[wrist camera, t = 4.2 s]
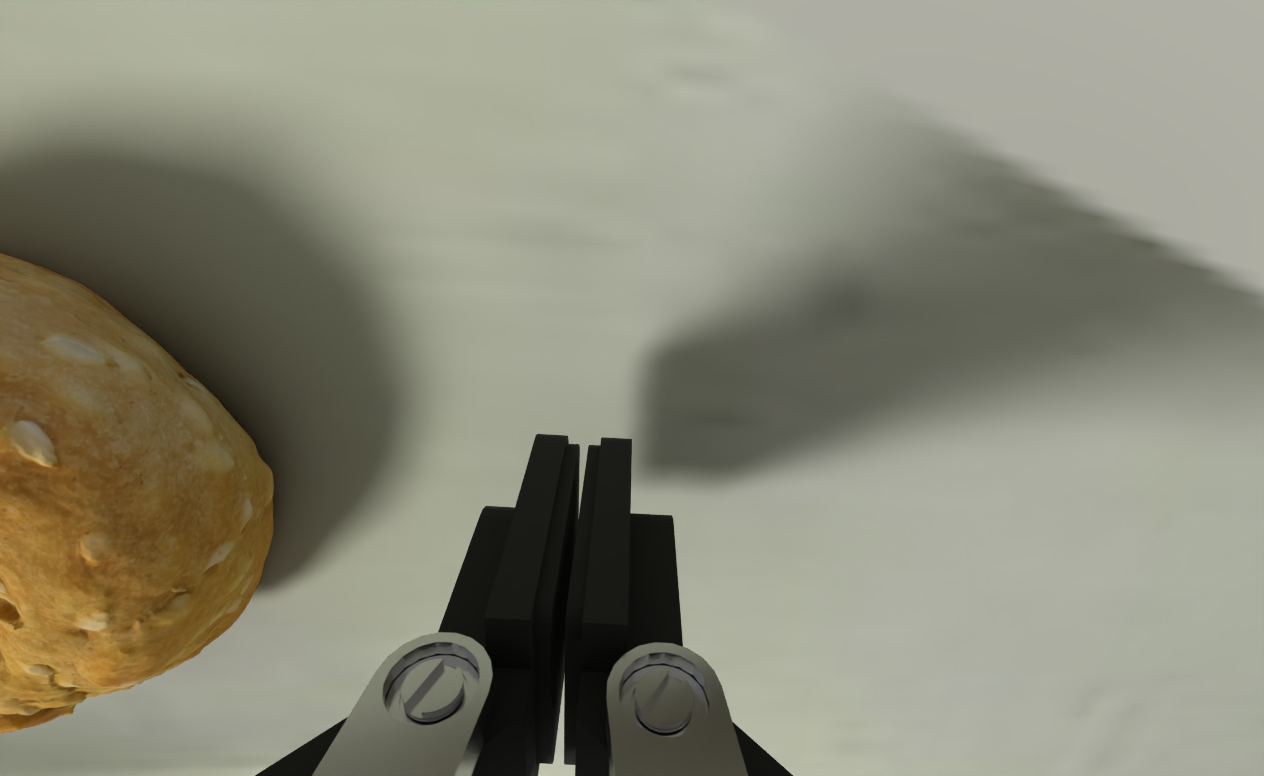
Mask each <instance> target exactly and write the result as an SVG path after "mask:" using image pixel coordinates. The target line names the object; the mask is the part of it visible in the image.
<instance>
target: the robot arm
mask: <svg viewBox="0 0 1264 776" xmlns="http://www.w3.org/2000/svg"><path fill="white" fill-rule="evenodd" d="M631 457H632V439H620V438H601V446H598V445H589V447H588V454H587V461H586V469H585V476H584V483H583V491H582V498H581V506H580V513H579V458H580V447H579V444H569V443H568V436H564V435H545V434H537V435H536V437H535V440H534V444H533V447H532V451H531V454H530V458H529V461H528V465H527V468H526V472H525V475H524V479H523V482H522V486H521V489H520V493H519V496H518V500H517V503H516V507H515V508H513V507H493V506H486V507H485V508H483V510H482V512H481V515H480V517H479V520H478V523H477V526H476V528H475V531H474V534H473V537H472V539H471V542H470V545H469V548H468V551H467V553H466V556H465V559H464V562H463V565H462V567H461V570H460V573H459V576H458V578H457V581H456V584H455V587H454V590H453V592H452V595H451V598H450V601H449V603H448V606H447V609H446V612H445V615H444V617H443V620H442V623H441V626H440V629H439V631H438V633H434V634H429V635H424V636H420V637H418V638H416V639H414V640H412V641H410V642H407V643H405V644H403V645H402V646H401V647H400V648H398V649H397V650H396V651H394V652H393V653H392V654H390V655H389V656H388V657H387V658H386V660H385V661H384V662H383V663H382V665H381V666H380V667H379V668H378V670H377V671H376V672H375V674H374V676H373V677H372V679H371V681H370V682H369V684H368V685H367V687H366V689H365V690H364V692H363V694H362V695H361V697H360V698H359V700H358V702H357V703H356V705H355V707H354V708H353V710H352V711H351V713H350V715H349V716H348V717H347V718H345V719H344V720H342V721H341V722H339V723H338V724H336V725H334V726H333V727H331V728H330V729H328V730H326V731H325V732H323V733H322V734H320V735H319V736H317V737H315V738H314V739H312V740H311V741H309V742H307V743H306V744H304V745H303V746H301V747H300V748H298V749H296V750H295V751H293V752H292V753H290V754H288V755H287V756H285V757H284V758H282V759H281V760H279V761H277V762H276V763H274V764H273V765H271V766H270V767H268V768H266V769H265V770H263V771H262V772H260V773H258V774H257V775H255V776H538V770H539V763H547V764H553V760H554V753H555V746H556V738H557V730H558V722H559V714H560V705H561V697H562V689H563V681H564V673H565V710H564V764H569V765H576V767H575V776H793V775H792V774H791V773H789V772H788V771H787V770H786V769H785V768H784V767H783V766H782V765H780V764H779V763H778V762H777V761H776V760H775V759H774V758H773V757H771V756H770V755H769V754H768V753H767V752H766V751H765V750H764V749H762V748H761V747H760V746H759V745H758V744H757V743H756V742H755V741H753V740H752V739H751V738H750V737H749V736H748V735H747V734H746V733H744V732H743V731H742V730H741V729H740V728H739V727H738V726H737V725H735V724H734V723H733V722H732V719H731V716H730V712H729V709H728V706H727V702H726V699H725V695H724V692H723V689H722V686H721V684H720V682H719V679H718V677H717V675H716V673H715V671H714V670H713V669H712V668H711V667H710V665H709V664H708V663H707V662H706V661H705V660H704V659H703V658H702V657H701V656H699V655H697V654H696V653H694V652H693V651H691V650H690V649H688V648H685V647H683V642H682V629H681V615H680V602H679V589H678V576H677V563H676V549H675V536H674V524H673V517H672V516H670V515H650V514H630V505H631ZM578 515H579V520H578Z"/></svg>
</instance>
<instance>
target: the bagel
mask: <svg viewBox="0 0 1264 776" xmlns="http://www.w3.org/2000/svg"><path fill="white" fill-rule="evenodd" d="M273 491H274V483H273V474H272V471H271V469H270V467H268V466H267V464H266V463H265V462H263V460H262V459H261V458H260V456H259V454H258V452H257V449H256V446H255V444H254V441H253V440H252V439H251V438H250V437H249V435H248V434H247V433H246V432H245V431H244V429H243V428H242V427H241V426H240V425H239V424H238V423H237V421H236V420H235V419H233V417H232V416H231V415H230V413H229V412H228V411H227V410H226V409H225V408H224V407H223V405H222V404H221V403H220V401H219V400H218V399H217V398H216V397H215V396H214V395H213V394H212V393H211V392H209V391H208V390H207V389H206V388H205V386H203V384H202V383H201V382H199V381H198V380H197V379H196V378H194V377H193V376H191V375H190V374H188V373H187V372H186V371H185V369H184V368H183V367H182V366H181V365H180V364H179V363H178V362H177V361H176V360H175V359H174V358H173V357H172V356H171V355H170V354H169V353H167V352H166V351H165V350H164V349H163V348H162V347H161V346H160V345H159V344H158V343H157V342H155V341H154V340H153V339H152V338H151V337H149V336H148V335H147V334H146V333H144V332H143V331H142V330H141V329H140V328H139V327H137V326H136V325H135V324H133V323H132V322H131V321H130V320H128V319H127V318H126V317H125V316H124V315H122V314H121V313H120V312H119V311H118V310H117V309H116V308H115V307H113V306H112V305H111V304H110V303H109V302H107V301H106V300H104V299H103V298H102V297H100V296H99V295H98V294H96V293H95V292H93V291H92V290H90V289H89V288H87V287H85V286H84V285H82V284H81V283H79V282H77V281H75V280H73V279H71V278H68V277H66V276H64V275H61V274H59V273H56V272H54V271H51V270H49V269H47V268H44V267H42V266H38V265H35V264H32V263H29V262H27V261H24V260H22V259H19V258H15V257H12V256H8V255H5V254H2V253H0V733H5V732H12V731H16V730H20V729H22V728H28V727H33V726H37V725H40V724H43V723H46V722H48V721H50V720H53V719H55V718H57V717H59V716H61V715H71V714H73V712H74V707H75V706H76V704H77V703H81V702H83V700H84V699H86V697H95V696H98V695H100V694H109V693H112V692H115V691H120V690H126V689H129V688H131V687H133V686H135V685H136V684H140V683H142V682H144V681H145V680H147V679H150V678H153V677H155V676H158V675H161V674H162V673H164V672H165V671H167V670H170V669H172V668H174V667H176V666H178V665H179V664H181V663H183V662H184V661H186V660H189V659H191V658H193V657H194V656H196V655H198V654H199V653H200V652H201V650H202V649H203V648H204V647H205V646H207V645H208V644H210V643H211V642H212V641H213V640H215V639H216V638H218V637H219V636H220V635H221V634H222V633H224V632H225V631H226V630H227V629H228V628H230V627H231V626H232V624H233V623H234V622H235V621H236V620H237V619H238V618H239V616H240V615H241V614H242V612H243V611H244V609H245V608H246V606H247V605H248V603H249V601H250V599H251V597H252V595H253V593H254V591H255V589H256V587H257V585H258V583H259V581H260V579H261V575H262V572H263V567H264V562H265V559H266V557H267V554H268V551H269V548H270V544H271V540H272V536H273V531H274V521H273V501H272V497H273Z"/></svg>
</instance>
